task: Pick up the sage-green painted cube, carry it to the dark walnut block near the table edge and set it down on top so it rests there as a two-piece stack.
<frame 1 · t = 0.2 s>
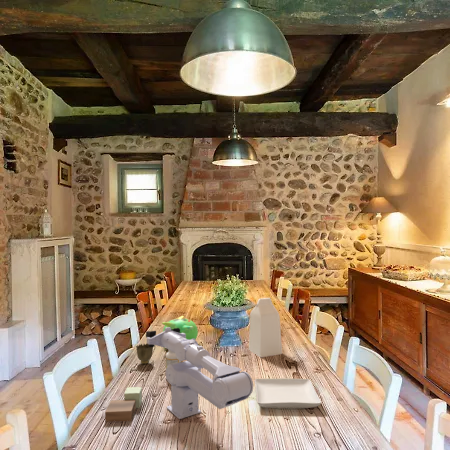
hand: (156, 332, 142), 21 cm above the table, tool horizontal, fingers open, 7 cm apart
supplement bottle: (174, 378, 153), on the table
milk: (265, 352, 185), on the table
walnut block: (120, 416, 123), on the table
salad plate: (285, 399, 135), on the table
green cube: (133, 404, 130), on the table
cup: (144, 363, 171), on the table
green rounded piece: (180, 346, 196), on the table
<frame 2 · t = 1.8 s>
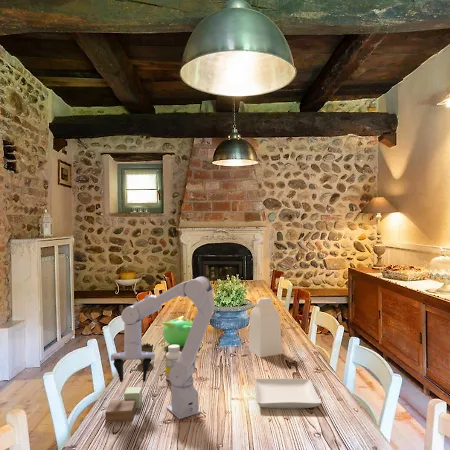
hand: (133, 380, 130), 8 cm above the table, tool pointing down, fingers open, 7 cm apart
nothing on the table moved.
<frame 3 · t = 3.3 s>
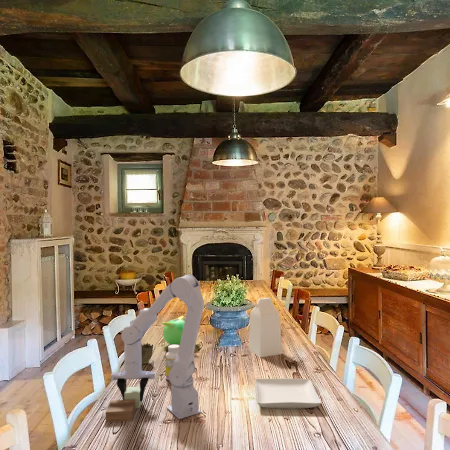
hand: (133, 400, 130), 1 cm above the table, tool pointing down, fingers closed on green cube, 5 cm apart
green cube: (133, 404, 130), on the table, touching gripper
everything else where it was.
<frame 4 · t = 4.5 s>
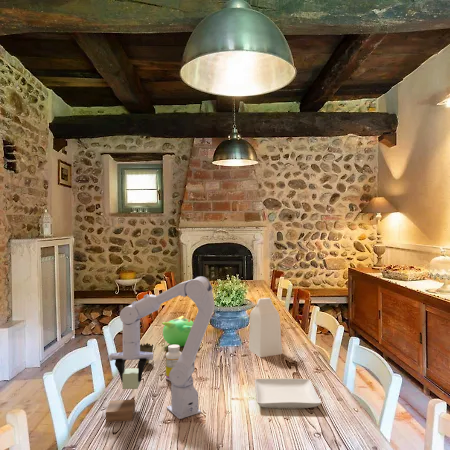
hand: (131, 381, 129), 8 cm above the table, tool pointing down, fingers closed on green cube, 5 cm apart
green cube: (131, 385, 129), point 7 cm above the table, touching gripper
everything else where it was.
when the fingers open (6 cm above the table, at t = 6.1 s): green cube drops 2 cm, point 3 cm above the table.
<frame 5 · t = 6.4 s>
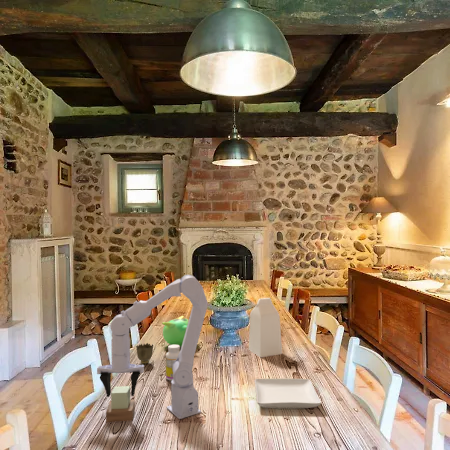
hand: (120, 395, 123), 6 cm above the table, tool pointing down, fingers open, 7 cm apart
green cube: (121, 405, 123), point 3 cm above the table
everything else where it was.
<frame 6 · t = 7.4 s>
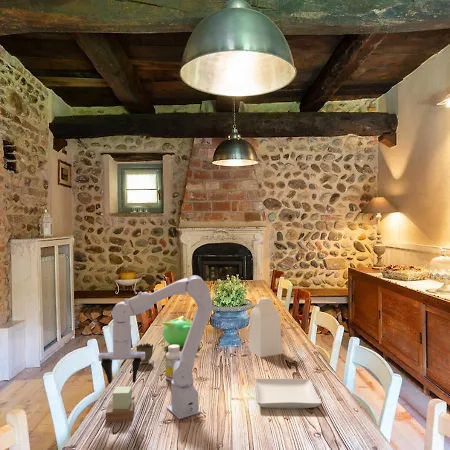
hand: (122, 381, 124), 10 cm above the table, tool pointing down, fingers open, 7 cm apart
walnut block: (120, 416, 123), on the table, touching green cube
green cube: (122, 405, 123), point 3 cm above the table, touching walnut block
everything else where it was.
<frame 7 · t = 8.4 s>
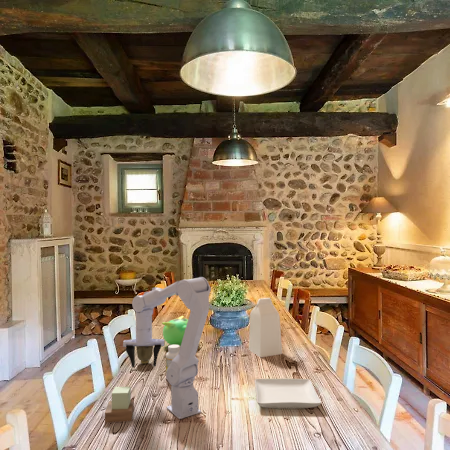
hand: (144, 366, 138), 10 cm above the table, tool pointing down, fingers open, 7 cm apart
nothing on the table moved.
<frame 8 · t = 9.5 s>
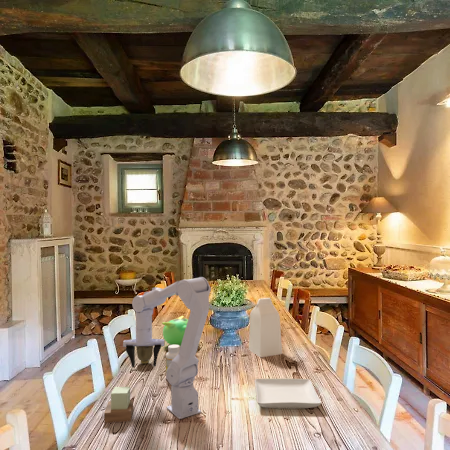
hand: (144, 366, 138), 10 cm above the table, tool pointing down, fingers open, 7 cm apart
nothing on the table moved.
at the end: green cube 0.5 cm off-centre on the walnut block, point 3.5 cm above the walnut block's base; green cube tilted 0°; green cube touching walnut block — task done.
